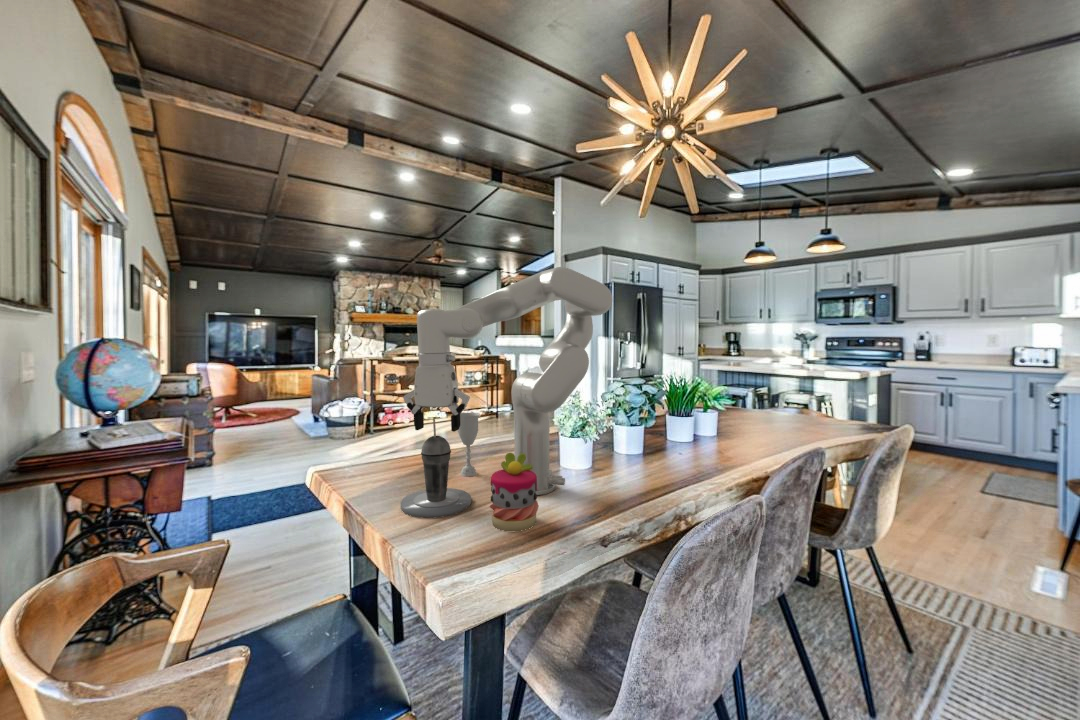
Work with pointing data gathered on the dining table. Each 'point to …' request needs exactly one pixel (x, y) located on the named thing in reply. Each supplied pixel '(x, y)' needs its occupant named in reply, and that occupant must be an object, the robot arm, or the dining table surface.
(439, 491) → the beverage cup
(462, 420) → the chalice
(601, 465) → the dining table surface
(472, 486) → the dining table surface
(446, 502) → the dish
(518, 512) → the cake
